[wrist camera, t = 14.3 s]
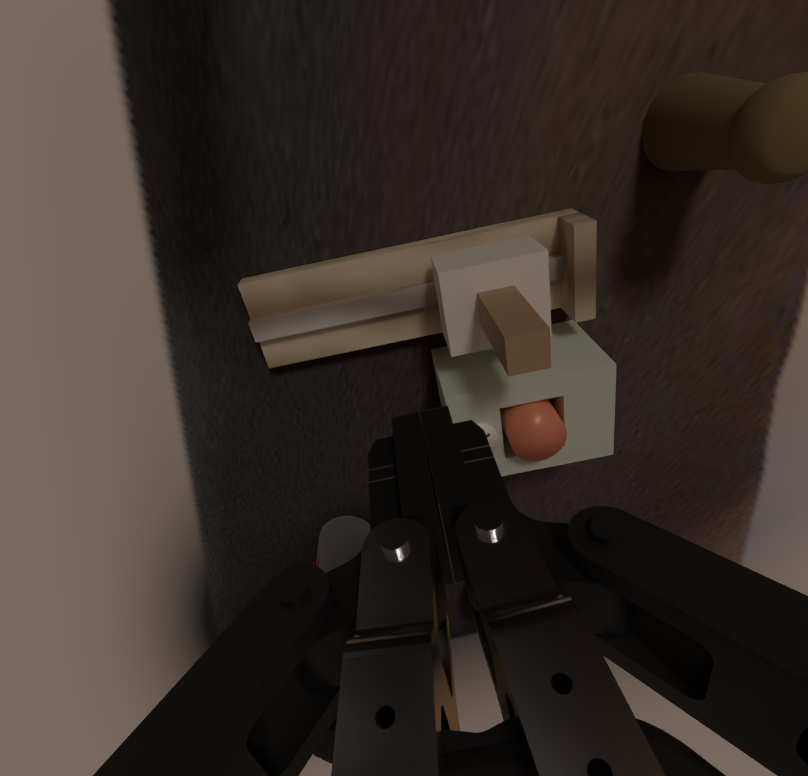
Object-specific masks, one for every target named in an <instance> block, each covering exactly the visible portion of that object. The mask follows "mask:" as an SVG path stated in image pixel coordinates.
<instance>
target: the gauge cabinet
mask: <svg viewBox="0 0 808 776" xmlns="http://www.w3.org/2000/svg"><path fill="white" fill-rule="evenodd" d="M551 331H552V336H551V337H550V342H551V365H552V368H549V369H544V370H539V371H534V372H529V373H524V374H519V375H515V376H510V377H508V375H507V374H506V372H505V370H504V368H503V366H502V364H501V362H500V360H499V359H498V357H497V355H496V353H495V351H494V349H488V350H483V351H478V352H473V353H468V354H463V355H459V356H454V357H451V355H450V352H449V349H448V346H444V347H439V348H435V349H431V353H432V358H433V363H434V369H435V374H436V380H437V385H438V391H439V396H440V402H441V406H446V405H448V408H449V411H450V415H451V418H452V422H453V424H454V423H459V422H464V421H468V420H472V421H474V422H475V423H476V424H477V425H478V426H480V427H481V428H482V429H483V430H484V431H485V434H486V437H487V439H488V442H489V445H490V447H491V450H492V453H493V456H494V458H495V461H496V463H497V466H498V469H499V471H500V474H501V476H506V475H511V474H516V473H521V472H526V471H531V470H537V469H542V468H547V467H552V466H557V465H562V464H567V463H572V462H577V461H582V460H587V459H592V458H597V457H602V456H608V455H613V448H614V419H615V390H616V363H615V362H614V361H613V360H612V359H611V358H610V357H609V356H608V355H607V354H606V353H605V352H604V351H603V350H602V349H601V348H600V347H599V346H598V345H597V344H596V343H595V342H594V341H593V340H592V339H591V338H590V337H589V336H588V335H587V334H586V333H585V332H584V331H583V329H582V328H581V327H580V326H579V325H578V324H577V323H575V322H574V321H573V320H570V321H565V322H561V323H556V324H551ZM544 399H549V401H550V403H551V404H552V406H553V407H554V409H555V411H556V412H557V414H558V415H559V417H560V419H561V420H562V422H563V423H564V425H565V427H566V429H567V439H566V442H565V444H564V446H563V447H562V449H561V450H560V451H559V452H558V453H556V454H555V455H554V456H552V457H550V458H548V459H545V460H542V461H534V462H533V461H526V460H523V459H521V458H519V457H518V456H517V455H516V454H515V453H514V451H513V449H512V447H511V445H510V443H509V440H508V438H507V436H506V433H505V431H504V429H503V426H502V424H501V417H500V408H505V407H510V406H515V405H520V404H525V403H530V402H535V401H540V400H544Z"/></svg>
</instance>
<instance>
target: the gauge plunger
mask: <svg viewBox="0 0 808 776" xmlns="http://www.w3.org/2000/svg"><path fill="white" fill-rule="evenodd" d="M500 417H501V424H502V426H503V429H504V431H505V433H506V436H507V438H508V440H509V443H510V445H511V447H512V449H513V451H514V453H515V454H516V455H517V456H518V457H519V458H521V459H523V460H526V461H533V462H534V461H542V460H545V459H548V458H550V457H552V456H554V455H555V454H556V453H558V452H559V451H560V450H561V449H562V447H563V446H564V444H565V442H566V439H567V429H566V427H565V425H564V423H563V422H562V420H561V419H560V417H559V415H558V414H557V412H556V411H555V409H554V407H553V406H552V404H551V403H550V401H549V399H544V400H540V401H535V402H530V403H525V404H520V405H515V406H510V407H505V408H500Z"/></svg>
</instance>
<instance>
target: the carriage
mask: <svg viewBox="0 0 808 776" xmlns="http://www.w3.org/2000/svg"><path fill="white" fill-rule="evenodd" d="M430 257H431V263H432V270H433V276H434V282H435V288H436V294H437V300H438V306H439V312H440V318H441V324H442V330H443V335H444V338H445V340H446V343H447V346H448V349H449V352H450V355H451V357H454V356H459V355H463V354H468V353H473V352H478V351H483V350H488V349H494V351H495V353H496V355H497V357H498V359H499V360H500V362H501V364H502V366H503V368H504V370H505V372H506V374H507V375H508V377H510V376H515V375H519V374H524V373H529V372H534V371H539V370H544V369H549V368H552V365H551V342H550V337H551V336H552V331H551V307H550V282H549V258H548V250H547V249H546V248H545V247H544V246H542V245H541V244H540V243H539V242H537V241H536V240H535V239H533V238H532V237H531V236H530V235H528V236H523V237H519V238H514V239H509V240H505V241H500V242H495V243H490V244H486V245H481V246H476V247H472V248H467V249H462V250H458V251H453V252H448V253H443V254H439V255H434V256H430Z"/></svg>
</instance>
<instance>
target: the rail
mask: <svg viewBox="0 0 808 776" xmlns="http://www.w3.org/2000/svg"><path fill="white" fill-rule="evenodd" d="M596 232H597V221H596V220H594V219H592V218H590V217H588V216H586V215H584V214H582V213H580V212H578V211H576V210H574V209H572V208H570V209H565V210H561V211H556V212H551V213H547V214H542V215H537V216H532V217H528V218H523V219H518V220H514V221H509V222H504V223H500V224H495V225H490V226H486V227H481V228H476V229H472V230H467V231H462V232H458V233H453V234H448V235H444V236H439V237H434V238H430V239H425V240H420V241H416V242H411V243H406V244H402V245H397V246H392V247H388V248H383V249H378V250H374V251H369V252H364V253H359V254H355V255H350V256H345V257H341V258H336V259H331V260H327V261H322V262H317V263H313V264H308V265H303V266H299V267H294V268H289V269H285V270H280V271H275V272H271V273H266V274H261V275H257V276H252V277H247V278H243V279H241V281H240V282H239V284H238V288H239V290H240V293H241V295H242V298H243V301H244V303H245V306H246V309H247V311H248V314H249V317H250V321H249V323H248V324H249V326H250V329H251V331H252V334H253V337H254V339H255V342H259V343H260V346H261V348H262V351H263V353H264V356H265V359H266V361H267V364H268V367H269V368H273V367H278V366H283V365H288V364H292V363H297V362H302V361H307V360H312V359H316V358H321V357H326V356H331V355H336V354H341V353H345V352H350V351H355V350H360V349H365V348H369V347H374V346H379V345H384V344H389V343H394V342H398V341H403V340H408V339H413V338H418V337H422V336H427V335H432V334H437V333H442V332H443V330H442V324H441V318H440V312H439V306H438V300H437V294H436V288H435V282H434V276H433V270H432V263H431V257H430V256H434V255H439V254H443V253H448V252H453V251H458V250H462V249H467V248H472V247H476V246H481V245H486V244H490V243H495V242H500V241H505V240H509V239H514V238H519V237H523V236H528V235H530V236H531V237H532V238H533V239H535V240H536V241H537V242H539V243H540V244H541V245H542V246H544V247H545V248H546V249H547V250H548V258H549V282H550V307H551V310H553V309H557V308H562V309H563V310H564V311H565V313H566V314H567V315H568V316H569V317H570V318H571V319H572V320H573V321H574V322H575V323H576V322H581V321H585V320H590V319H595V318H596Z"/></svg>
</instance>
